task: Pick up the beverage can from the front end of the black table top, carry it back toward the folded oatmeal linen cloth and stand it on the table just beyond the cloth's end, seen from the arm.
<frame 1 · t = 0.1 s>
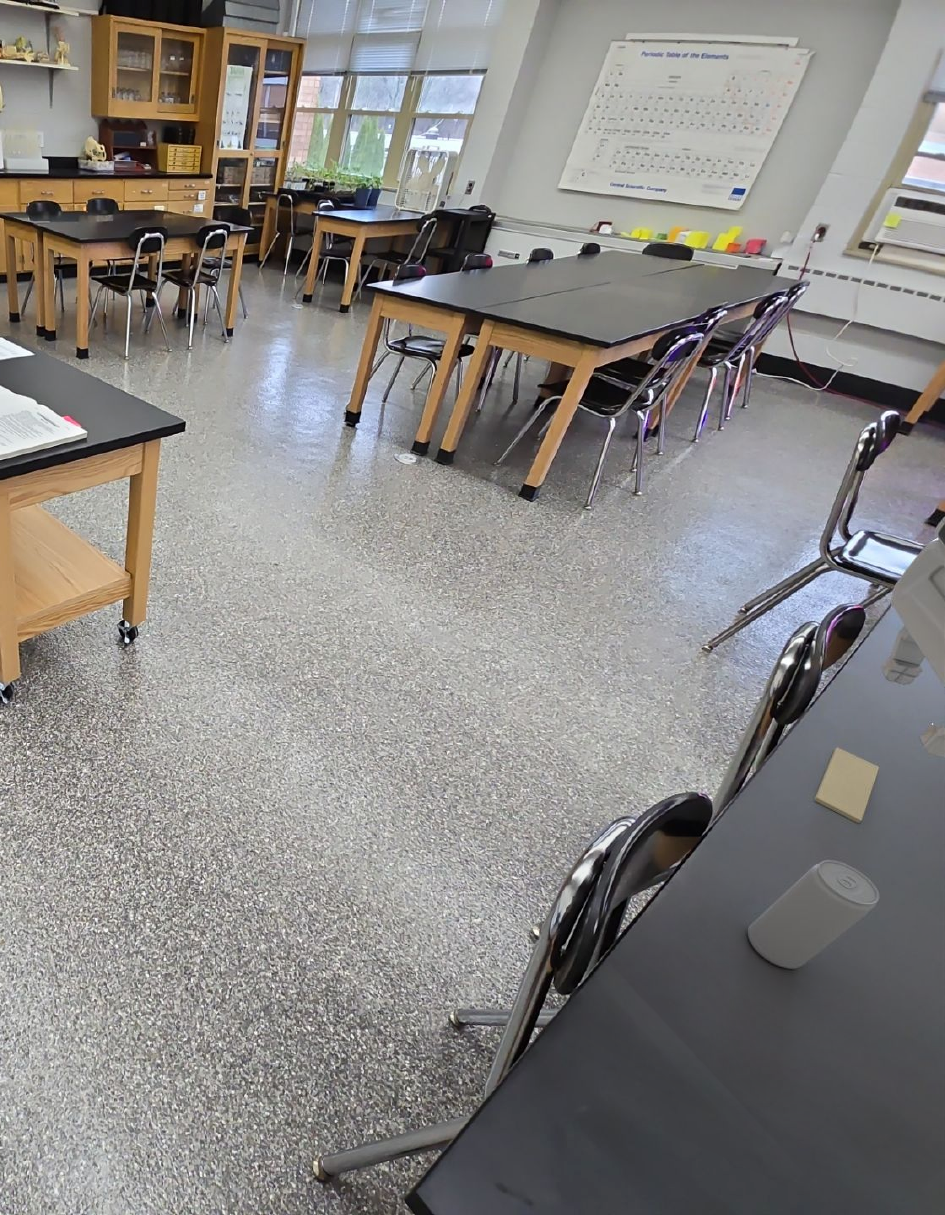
hand: (911, 711, 59), 29 cm above the table, tool pointing down, fingers open, 8 cm apart
napkin: (845, 784, 92), on the table
beverage can: (771, 948, 74), on the table
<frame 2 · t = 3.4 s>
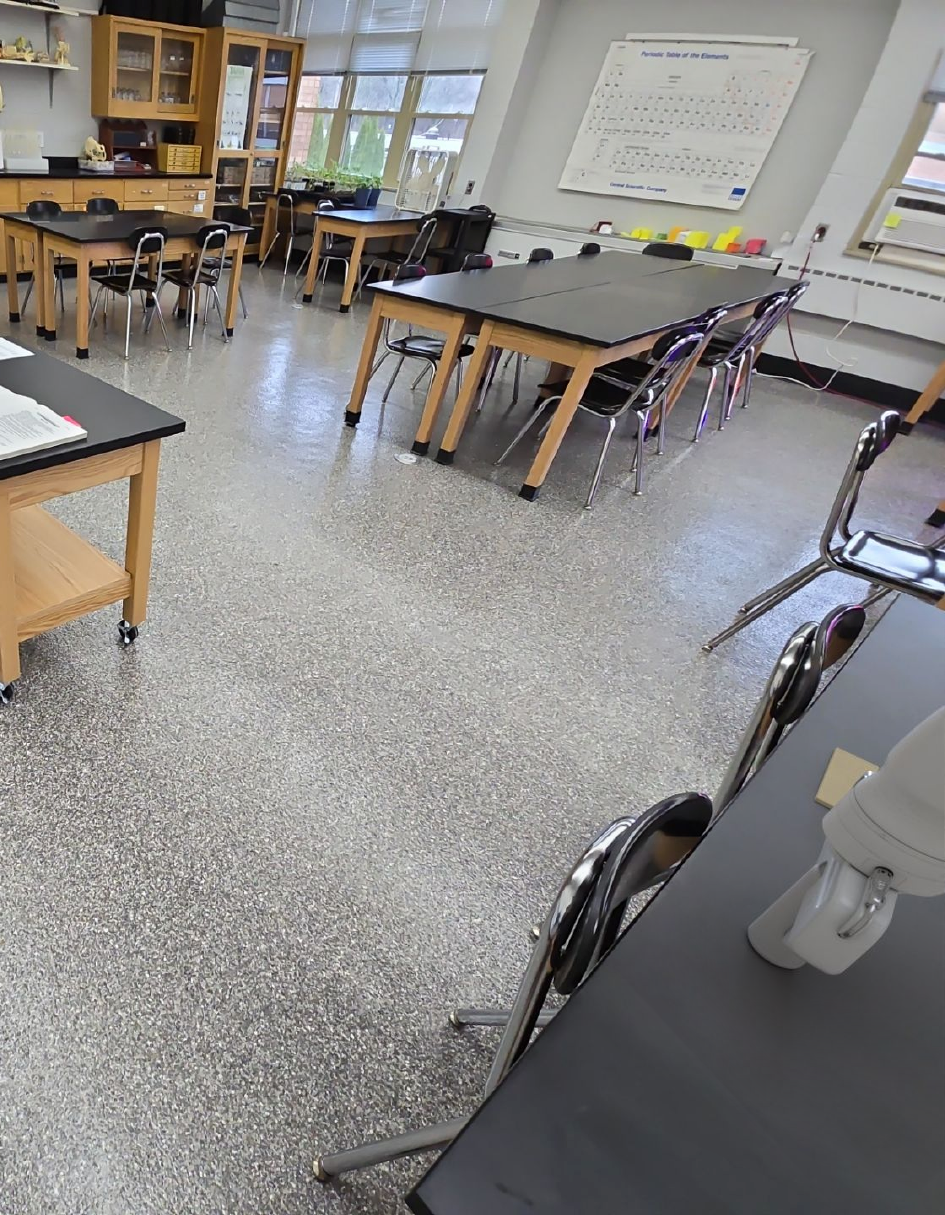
hand: (799, 924, 71), 5 cm above the table, tool pointing down, fingers closed on beverage can, 5 cm apart
beverage can: (771, 948, 74), on the table, touching gripper
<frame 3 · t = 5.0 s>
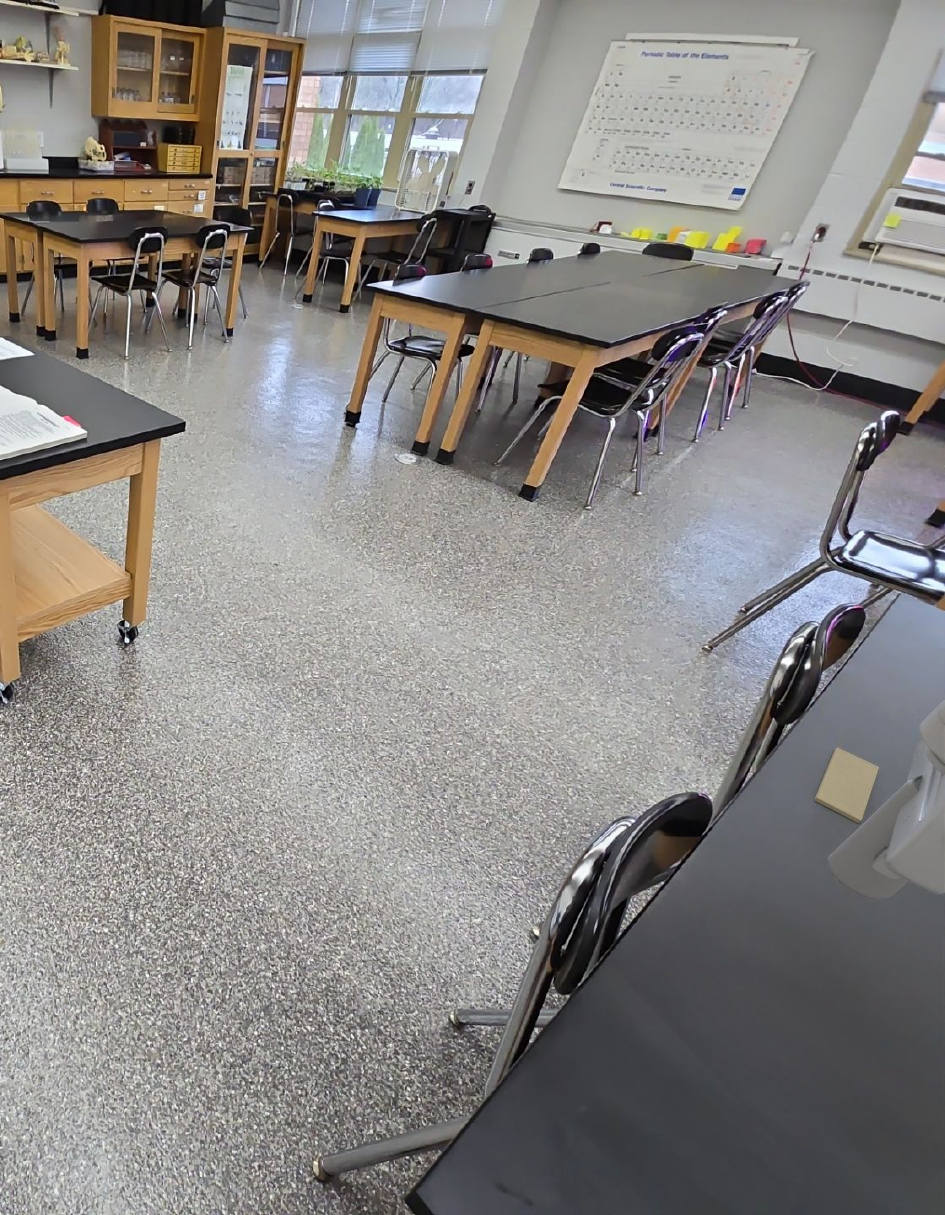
hand: (888, 849, 64), 16 cm above the table, tool pointing down, fingers closed on beverage can, 5 cm apart
beverage can: (854, 879, 67), point 12 cm above the table, touching gripper
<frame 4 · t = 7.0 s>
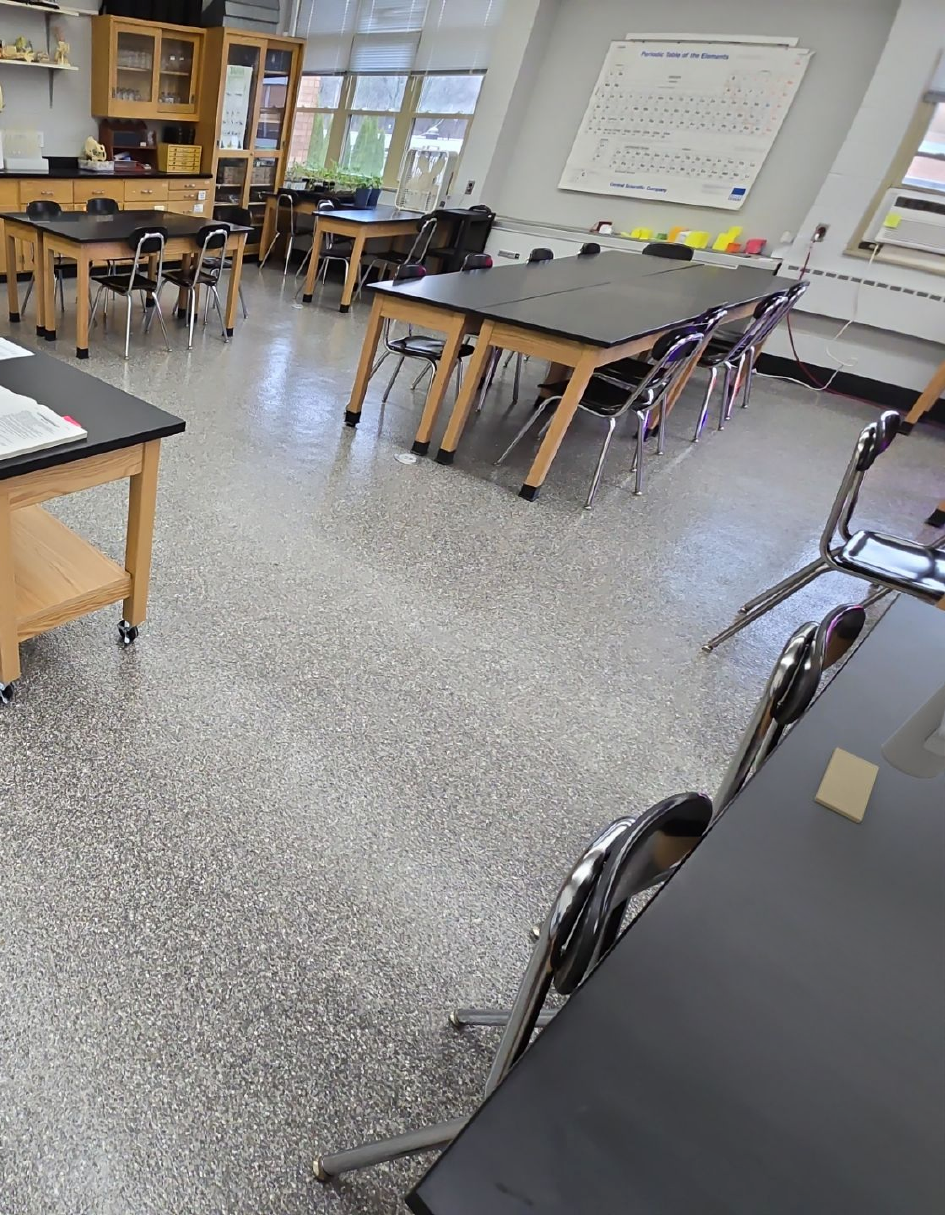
hand: (936, 734, 74), 18 cm above the table, tool pointing down, fingers closed on beverage can, 5 cm apart
beverage can: (904, 764, 77), point 13 cm above the table, touching gripper
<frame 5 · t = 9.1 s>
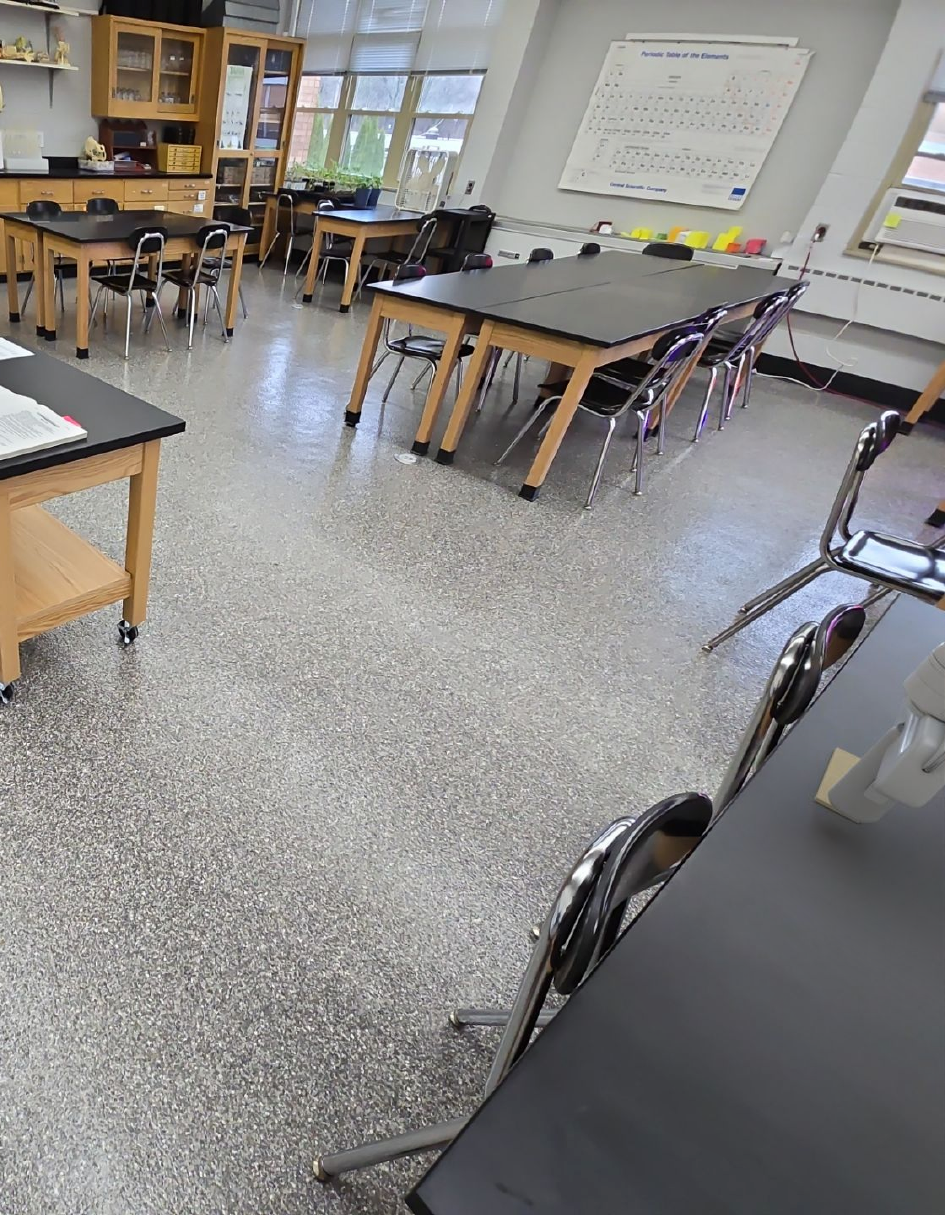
hand: (876, 783, 81), 9 cm above the table, tool pointing down, fingers closed on beverage can, 5 cm apart
beverage can: (849, 809, 84), point 4 cm above the table, touching gripper
when the fingers open (4 cm above the table, at t = 10.6 s): beverage can stays where it is, on the table.
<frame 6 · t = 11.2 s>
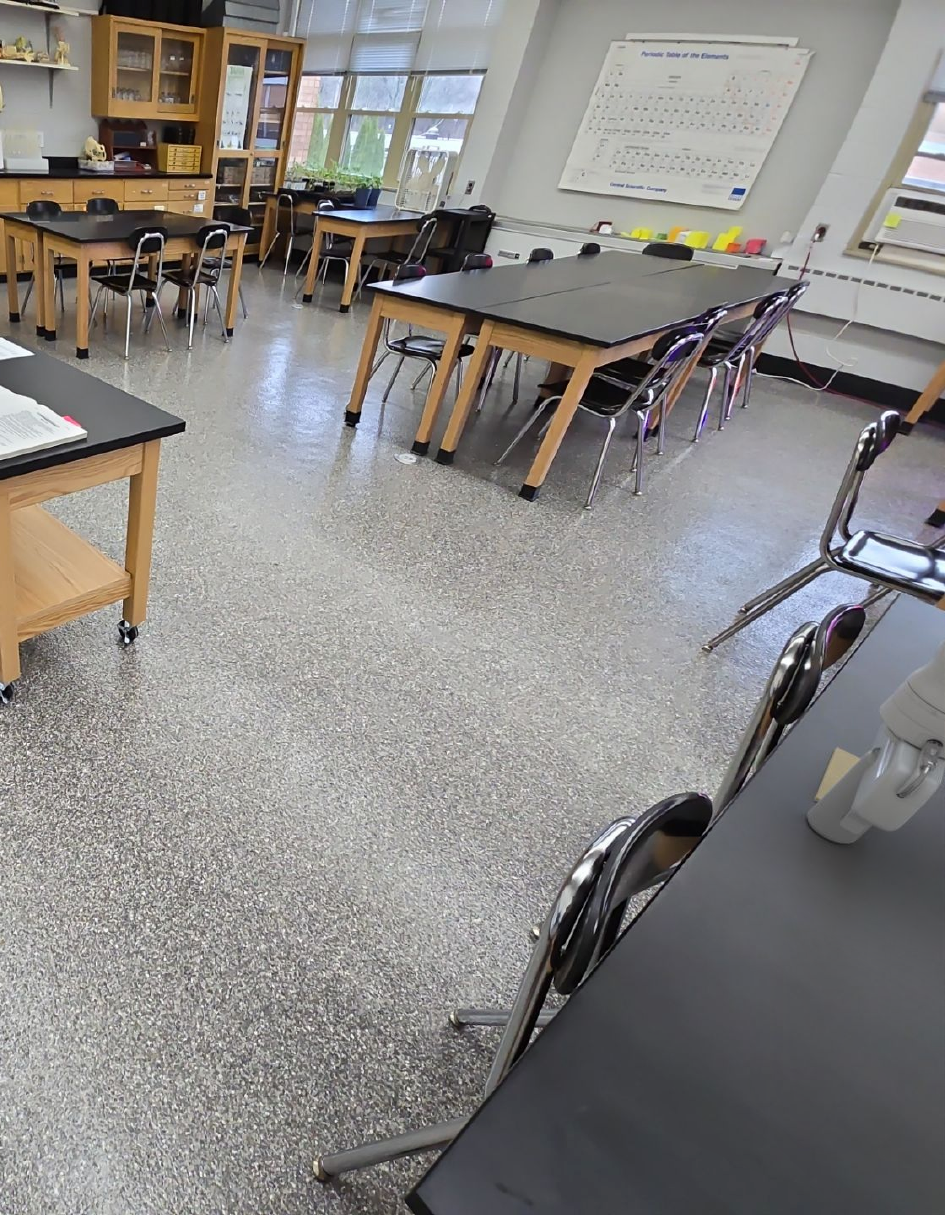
hand: (856, 804, 83), 5 cm above the table, tool pointing down, fingers open, 8 cm apart
beverage can: (827, 830, 86), on the table
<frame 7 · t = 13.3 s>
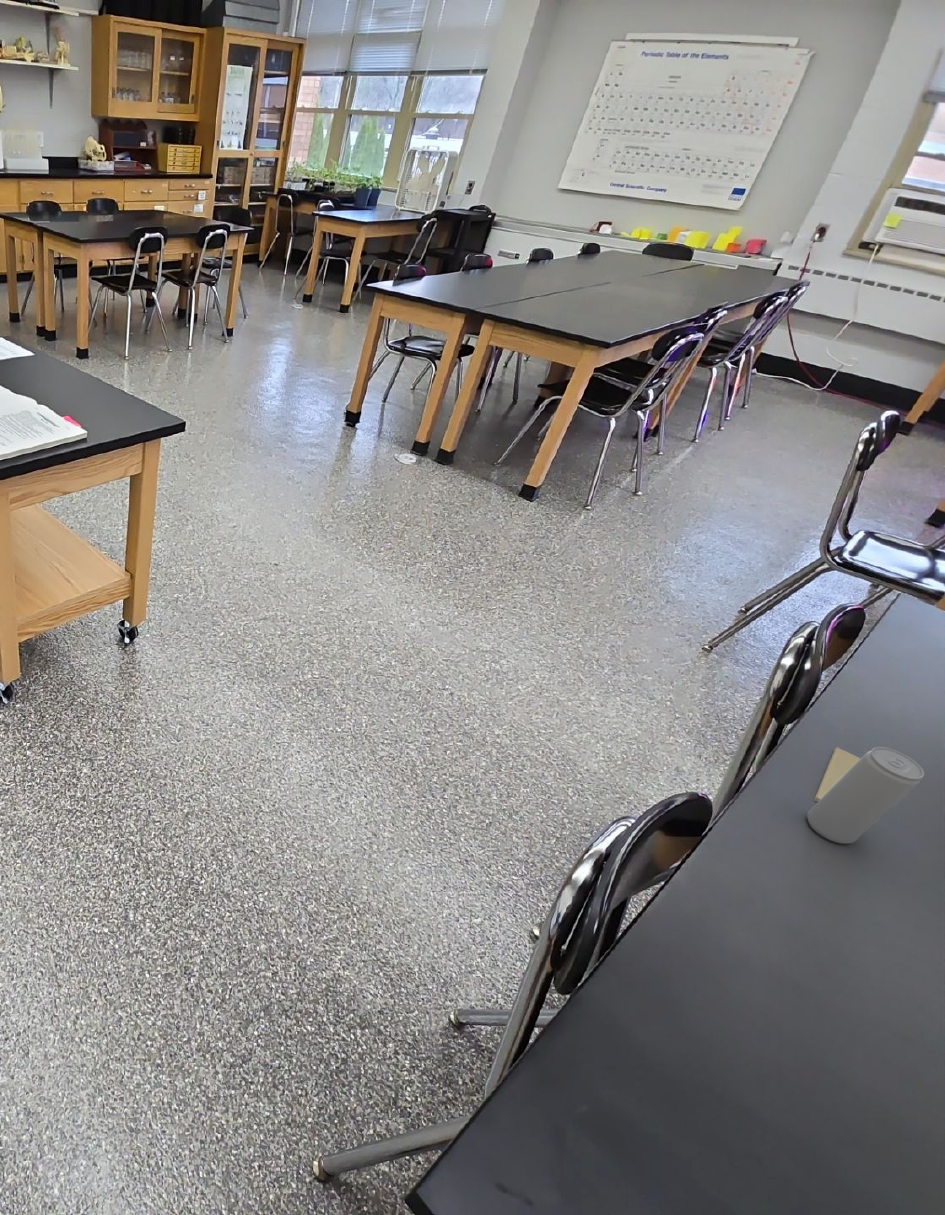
nothing on the table moved.
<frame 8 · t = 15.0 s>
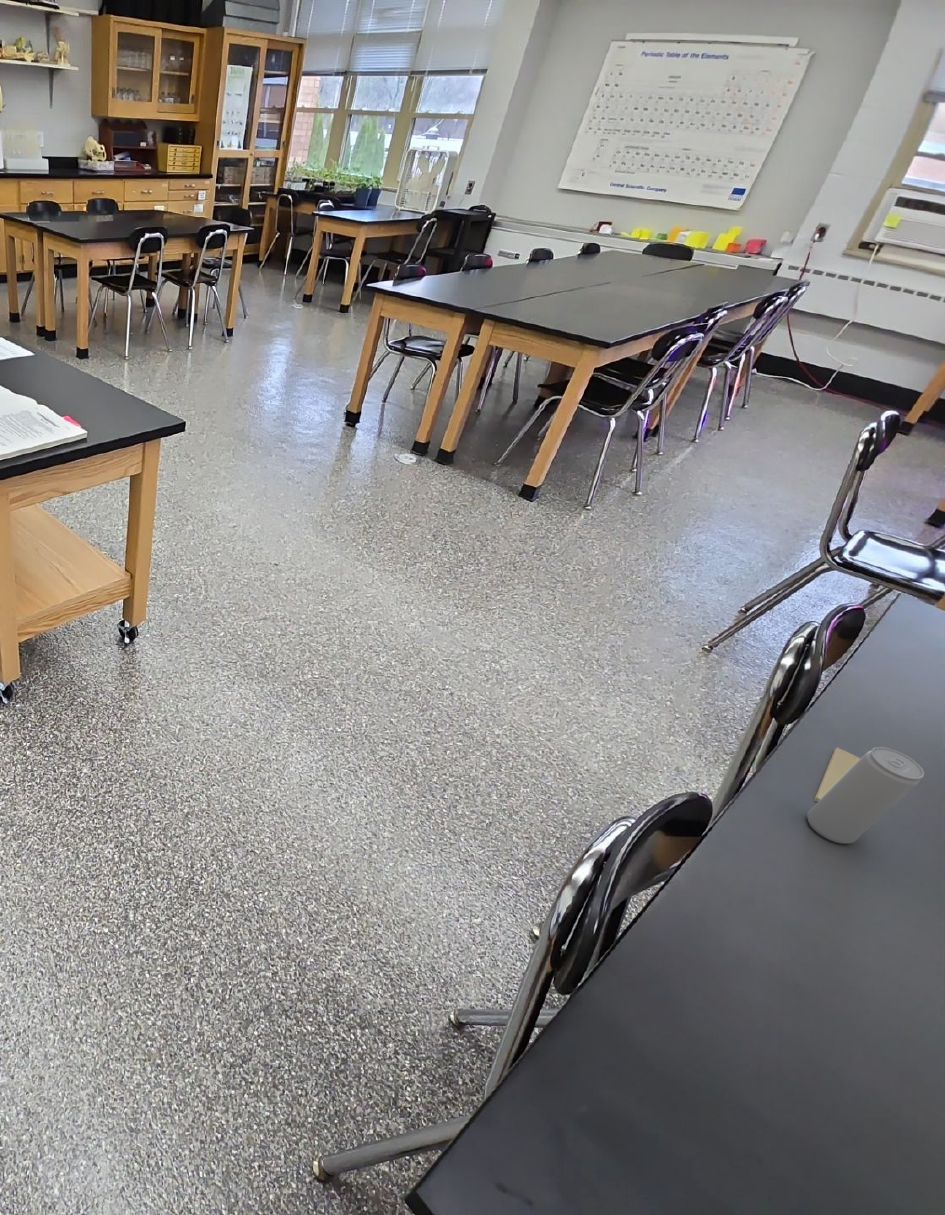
nothing on the table moved.
at the end: beverage can 0.1 cm from the target spot on the table beside the napkin, on the table; beverage can touching table; beverage can tilted 0° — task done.
